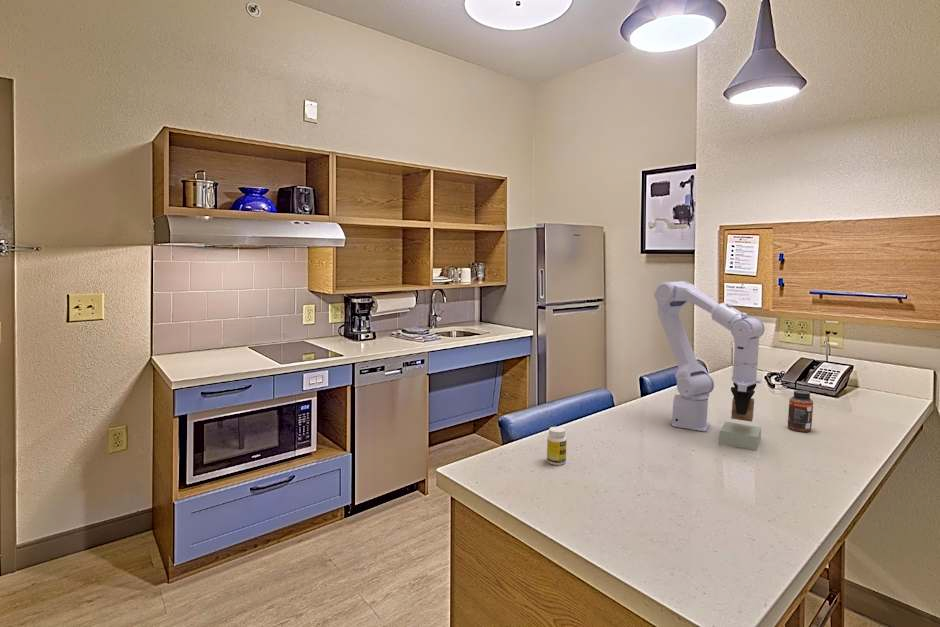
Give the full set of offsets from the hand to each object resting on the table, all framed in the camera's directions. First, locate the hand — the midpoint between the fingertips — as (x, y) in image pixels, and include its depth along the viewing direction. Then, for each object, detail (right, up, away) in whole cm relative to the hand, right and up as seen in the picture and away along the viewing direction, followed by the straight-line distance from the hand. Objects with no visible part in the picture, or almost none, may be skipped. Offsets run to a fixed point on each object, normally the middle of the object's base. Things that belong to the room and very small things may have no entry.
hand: (742, 411), depth 144 cm
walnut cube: (0, -2, 0) cm, 2 cm away
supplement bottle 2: (+22, -7, +11) cm, 26 cm away
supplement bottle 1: (-53, -11, -12) cm, 55 cm away
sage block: (0, -9, +1) cm, 9 cm away
